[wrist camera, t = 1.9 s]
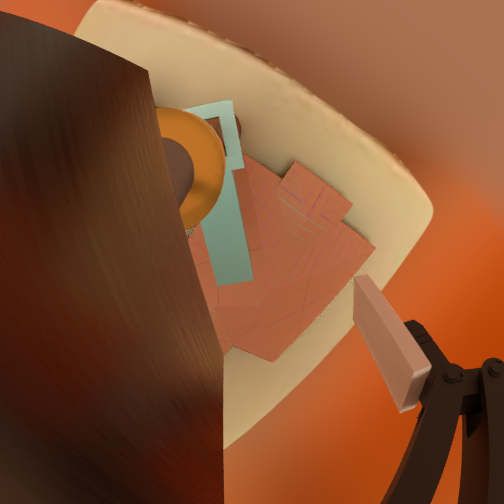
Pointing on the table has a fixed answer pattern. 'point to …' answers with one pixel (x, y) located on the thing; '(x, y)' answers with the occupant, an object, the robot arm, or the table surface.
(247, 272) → the teal block with hole
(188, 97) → the table surface
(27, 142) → the post stand
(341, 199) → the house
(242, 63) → the table surface
